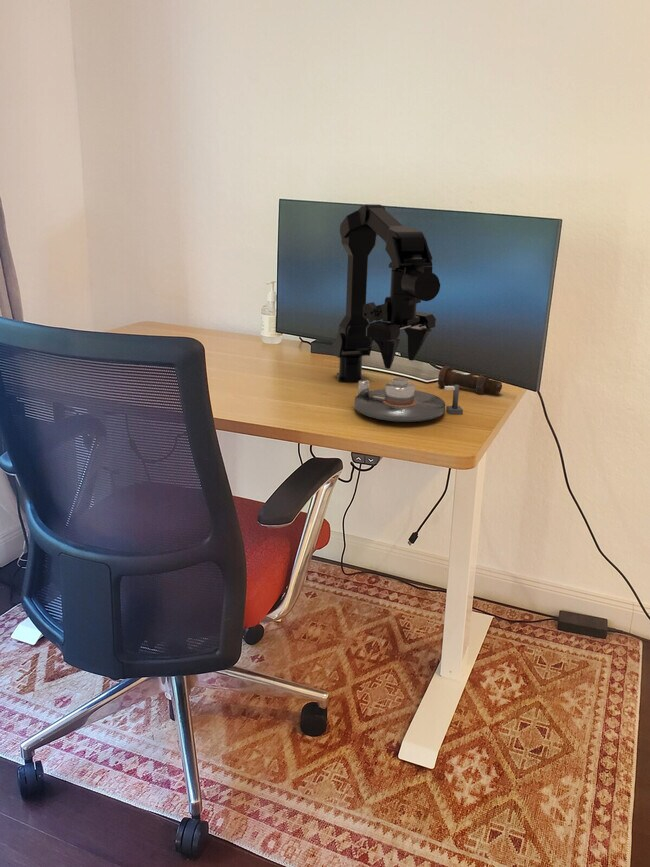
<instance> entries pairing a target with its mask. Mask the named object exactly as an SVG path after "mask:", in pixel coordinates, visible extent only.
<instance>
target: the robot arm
mask: <svg viewBox="0 0 650 867" xmlns="http://www.w3.org/2000/svg"><path fill="white" fill-rule="evenodd" d="M339 234H340V238H341V245H342V247H343V248H344V250H345V252H346V254H347V277H346V298H345V299H346V300H345V302H346V304H345V315H344V317H343V318H342V320H341V322H340V323H339V325H338V333H337V334H336V336H335V338H334V340H333V342H332V344H331V351H332V355H334V356H336V357H337V358H338V359H339V362H338V364H339V366H338V367H339V368H338V372H336V377H337V381H338V382H359V380H365V378H364V377H365V376H364V375H363V374H362V373H363V372H362V371H363V356H367V357H370V355H371V353H372V347H373V343H374V342H375V343H376V344H377V346H378V349H379V352H380V356H381V357H382V361H383V365H384V368H385V369H387V370H390V369H391V368H392V365H393V362H394V360H395V356H396V354H397V351H398V348H399V343H400V339H399V336H400V334H401V331H402V330H404V332H405V334H406V336H407V355H408V356H407V357H408V361H412V362H413V361H415V359H416V357H417V355H418V353H419V352H420V350H421V348H422V346H423V344H424V342H425V341H426V339H427V338H428V336H429V334H430V333H431V332H432V329H434V328H435V327H436V322H437V321H436V319H437V318H436V317H435V315H434V314H433V313H429V312H428V313H427V312H421V311H417V308H418V307H417V305H418V304H419V303H421V302H422V301H423V302H430V301H432V300H434V299H435V298H436V297H437V295H438V294H439V293H440V289H441V282H440V279H439V277H438V275H437V274H435V273H434V272H433V268H434V267H433V261H432V260H433V256H432V253H431V251H430V249H429V245H428V240H427V239H426V236H425V234H424V233H423V231H420V230H419V229H416V228H413V227H407V226H405V225H403V224H401V222H399V221H398V220H397V219H396V218H395V217H394V216H393V215H392V214H390V213H389V212H388V211H387V210H386V208H385V206H384V205H381V204H374V203H373V204H372V203H371V204H364V205H362V206H360V208H359V209H357V210H356V211H353V212H352V213H350V214H347V215H346V216H345V217H344V219H343V220H342V222H341V223H340V225H339ZM377 236H379V237H380V238H381V239H382V241H383V242H385V249H384V250H385V251H386V253H387V254H388V256H389V259H390V260H391V262H389V264H388V268H389V269H391V274H390V291H389V293H390V294H389V295H388V296H386V297H385V299H384V303H382V304H379V305H376V303H375V302H374V301H373V302H369V303H367V290H368V289H367V288H368V287H367V286H368V269H369V268H368V267H369V266H368V265H369V264H368V263H369V255H370V254H371V253H372V250H374V248H375V247H376V242H377ZM373 321H374V322H373Z"/></svg>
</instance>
